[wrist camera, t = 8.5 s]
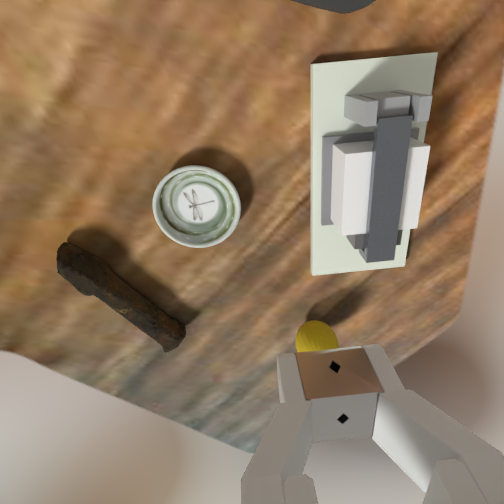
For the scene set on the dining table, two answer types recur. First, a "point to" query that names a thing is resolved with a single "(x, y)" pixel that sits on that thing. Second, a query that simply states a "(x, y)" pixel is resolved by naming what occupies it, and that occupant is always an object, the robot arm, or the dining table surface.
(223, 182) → the saucer
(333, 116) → the board
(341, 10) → the media streaming box
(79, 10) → the dining table surface
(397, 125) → the strap
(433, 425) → the robot arm
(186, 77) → the dining table surface
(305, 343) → the lemon
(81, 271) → the dark brown long bar
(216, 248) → the dining table surface
